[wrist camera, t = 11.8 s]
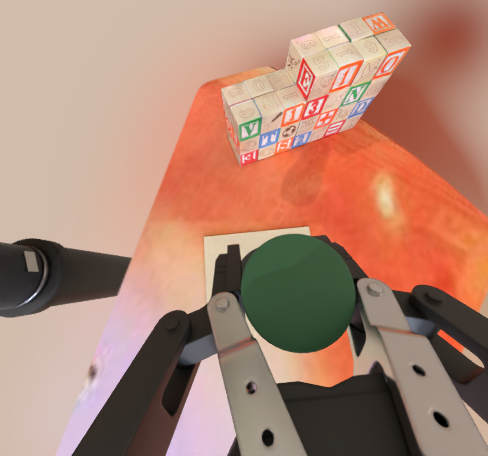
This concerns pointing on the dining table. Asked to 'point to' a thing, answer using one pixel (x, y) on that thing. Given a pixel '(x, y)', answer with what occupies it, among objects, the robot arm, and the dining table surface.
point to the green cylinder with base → (297, 293)
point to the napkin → (247, 244)
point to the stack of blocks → (313, 88)
